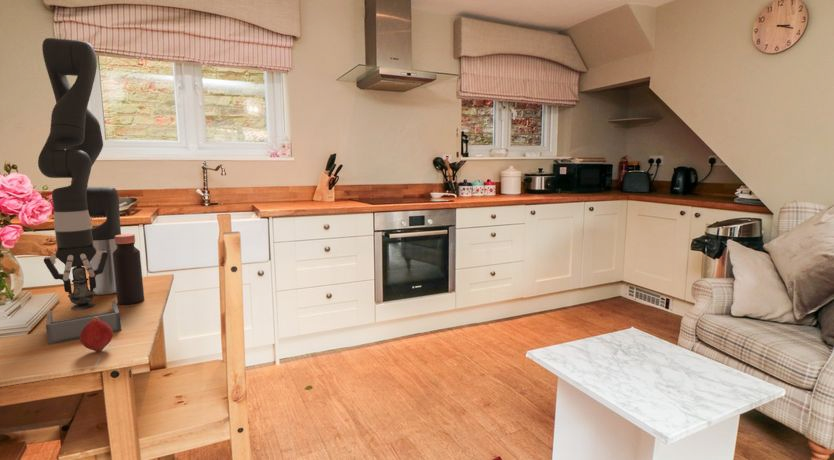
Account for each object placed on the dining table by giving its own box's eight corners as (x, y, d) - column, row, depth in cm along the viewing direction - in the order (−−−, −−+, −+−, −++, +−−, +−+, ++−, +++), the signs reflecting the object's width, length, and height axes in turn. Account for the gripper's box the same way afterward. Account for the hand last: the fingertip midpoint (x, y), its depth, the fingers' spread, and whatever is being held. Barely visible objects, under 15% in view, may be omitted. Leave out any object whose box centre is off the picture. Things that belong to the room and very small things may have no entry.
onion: (78, 359, 94) (74, 323, 93) (86, 348, 100) (82, 314, 98) (111, 354, 97) (107, 319, 96) (116, 344, 102) (113, 310, 101)
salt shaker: (85, 310, 116) (80, 265, 114) (63, 310, 116) (57, 265, 114) (102, 303, 122) (97, 260, 120) (80, 303, 122) (75, 260, 120)
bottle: (115, 306, 128) (108, 237, 125) (119, 299, 134) (113, 234, 131) (142, 303, 131) (136, 236, 128) (146, 296, 137) (139, 232, 134)
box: (49, 328, 111) (47, 311, 110) (117, 316, 120) (115, 300, 119) (48, 344, 102) (45, 325, 101) (121, 330, 110) (119, 312, 109)
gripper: (105, 223, 123) (112, 284, 125) (38, 228, 114) (46, 293, 117) (107, 227, 117) (114, 290, 119) (36, 232, 108) (45, 300, 111)
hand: (80, 291), depth 118 cm, fingers closed on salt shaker, 4 cm apart
